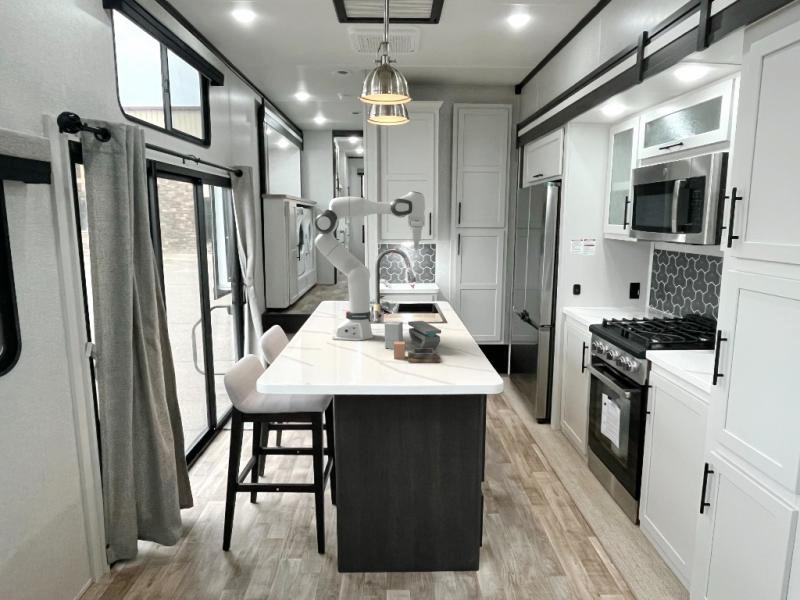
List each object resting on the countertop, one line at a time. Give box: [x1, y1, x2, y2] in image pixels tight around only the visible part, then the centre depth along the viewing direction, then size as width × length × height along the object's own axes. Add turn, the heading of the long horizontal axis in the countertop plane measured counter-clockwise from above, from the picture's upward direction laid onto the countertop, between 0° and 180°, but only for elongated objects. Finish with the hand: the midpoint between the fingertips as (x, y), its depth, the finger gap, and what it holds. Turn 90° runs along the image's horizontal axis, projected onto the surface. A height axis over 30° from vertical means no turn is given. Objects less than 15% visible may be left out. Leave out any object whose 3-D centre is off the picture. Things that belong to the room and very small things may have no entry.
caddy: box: [407, 347, 441, 364], centre depth 226 cm, size 14×14×4 cm
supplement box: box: [384, 320, 404, 350], centre depth 246 cm, size 7×7×13 cm
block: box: [393, 341, 406, 360], centre depth 228 cm, size 5×5×7 cm
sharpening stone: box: [407, 320, 442, 350], centre depth 247 cm, size 25×8×11 cm, turn 18°
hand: (416, 249), depth 262 cm, fingers open, 8 cm apart
